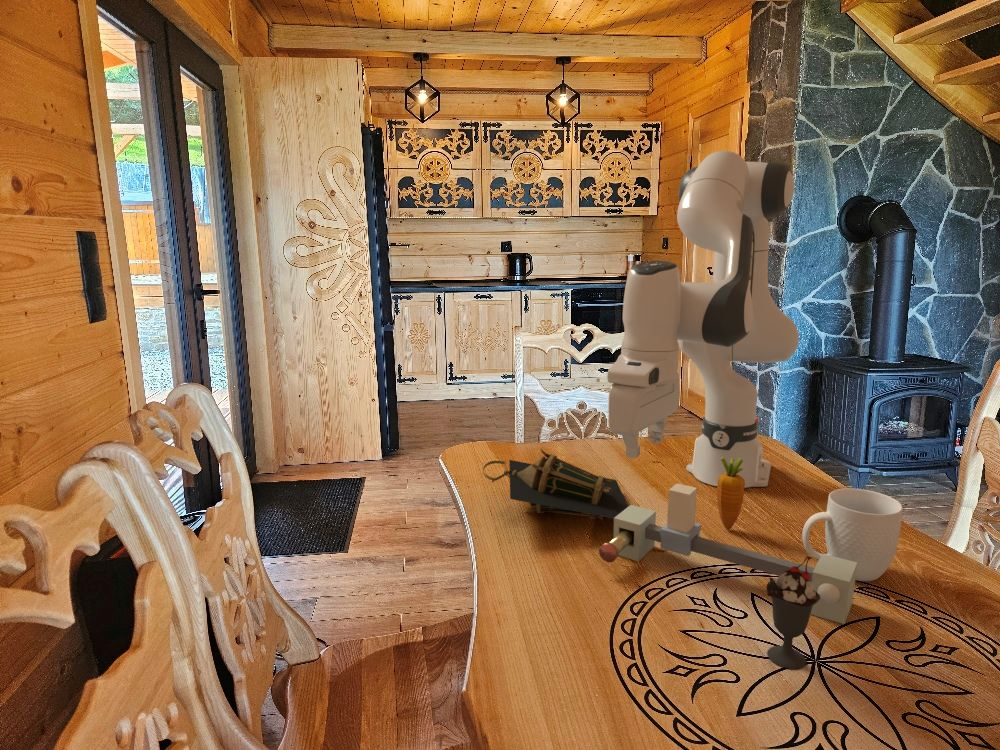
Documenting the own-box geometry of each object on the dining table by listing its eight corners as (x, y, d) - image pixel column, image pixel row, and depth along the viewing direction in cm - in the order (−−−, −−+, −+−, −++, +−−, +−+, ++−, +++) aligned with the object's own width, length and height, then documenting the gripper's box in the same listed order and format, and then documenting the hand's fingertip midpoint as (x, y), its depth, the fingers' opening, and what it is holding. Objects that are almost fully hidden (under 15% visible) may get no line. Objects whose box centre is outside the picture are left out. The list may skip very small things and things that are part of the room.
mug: (811, 586, 109) (819, 513, 106) (788, 554, 120) (795, 486, 117) (906, 590, 108) (916, 515, 105) (875, 557, 118) (883, 488, 115)
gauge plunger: (623, 537, 121) (624, 521, 121) (640, 542, 120) (640, 525, 119) (598, 559, 114) (599, 542, 113) (615, 564, 112) (616, 547, 111)
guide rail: (629, 539, 126) (630, 504, 124) (852, 603, 104) (857, 562, 103) (611, 555, 120) (612, 519, 118) (843, 626, 98) (848, 583, 97)
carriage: (672, 536, 120) (675, 480, 118) (699, 543, 117) (703, 486, 115) (659, 549, 115) (662, 491, 113) (687, 557, 112) (690, 498, 110)
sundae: (819, 655, 92) (830, 556, 88) (803, 680, 87) (814, 576, 83) (771, 636, 96) (780, 541, 93) (753, 659, 91) (761, 559, 88)
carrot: (708, 527, 130) (713, 455, 127) (727, 522, 133) (732, 451, 129) (728, 537, 126) (733, 463, 123) (746, 532, 128) (752, 458, 125)
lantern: (624, 558, 126) (472, 519, 126) (605, 518, 149) (477, 484, 148) (645, 492, 125) (491, 451, 124) (622, 461, 148) (492, 426, 147)
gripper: (655, 355, 115) (651, 431, 118) (602, 373, 98) (598, 462, 101) (691, 358, 111) (686, 437, 114) (641, 378, 95) (637, 470, 98)
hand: (644, 449), depth 107 cm, fingers open, 8 cm apart
